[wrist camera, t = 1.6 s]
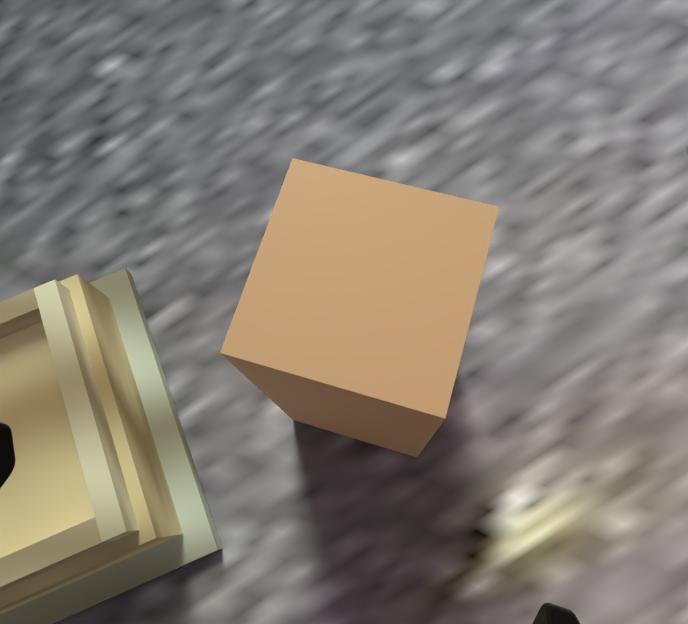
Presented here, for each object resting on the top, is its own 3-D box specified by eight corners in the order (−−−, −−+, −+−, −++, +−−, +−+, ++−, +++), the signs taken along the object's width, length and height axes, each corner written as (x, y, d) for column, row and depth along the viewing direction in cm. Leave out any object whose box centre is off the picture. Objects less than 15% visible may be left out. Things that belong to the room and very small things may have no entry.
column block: (417, 457, 23) (445, 418, 12) (293, 420, 23) (220, 352, 13) (449, 335, 24) (499, 206, 14) (331, 303, 25) (292, 158, 14)
